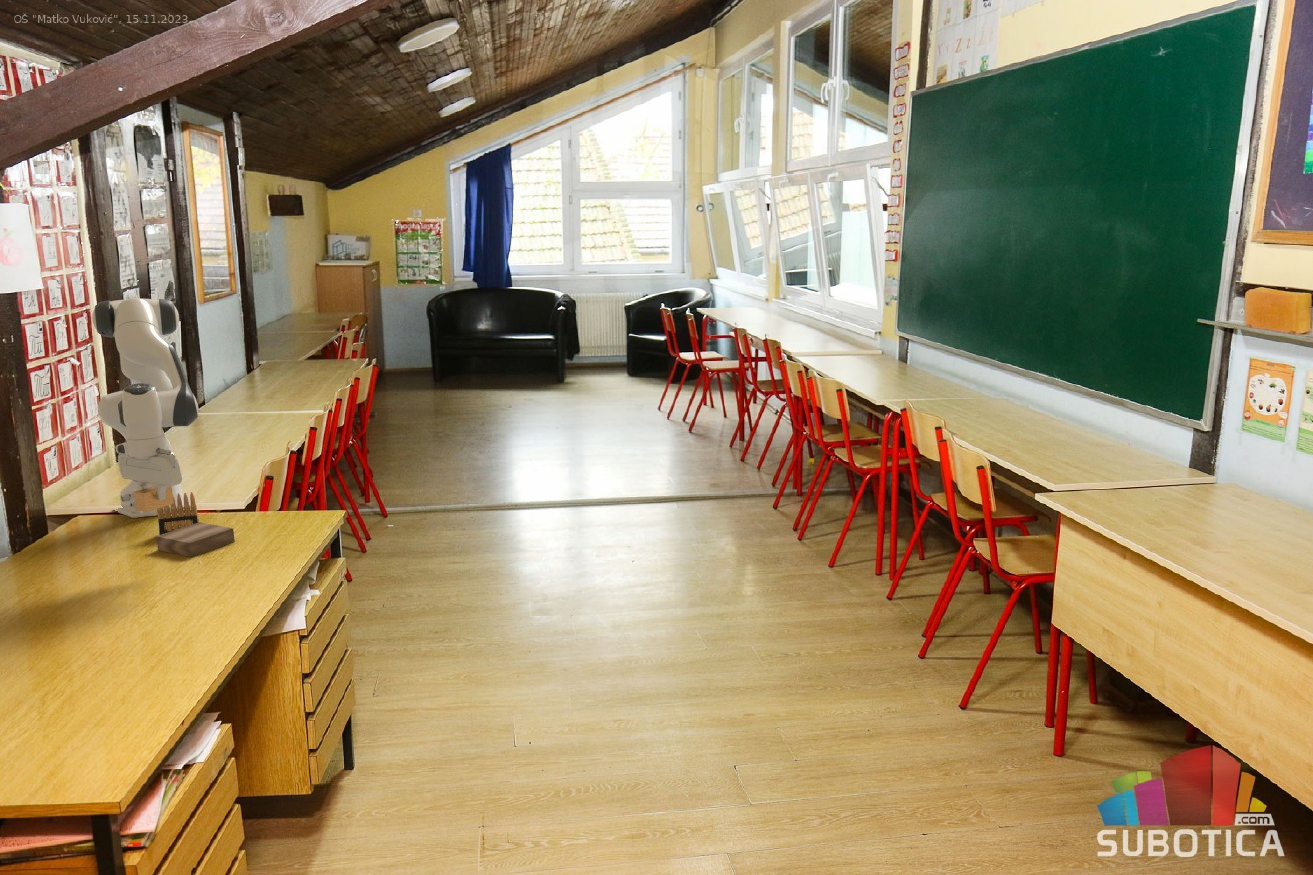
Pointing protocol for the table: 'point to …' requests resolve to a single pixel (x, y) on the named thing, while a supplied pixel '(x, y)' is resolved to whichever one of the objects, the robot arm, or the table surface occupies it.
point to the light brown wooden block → (152, 499)
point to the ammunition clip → (177, 515)
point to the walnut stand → (195, 539)
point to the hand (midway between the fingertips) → (154, 498)
